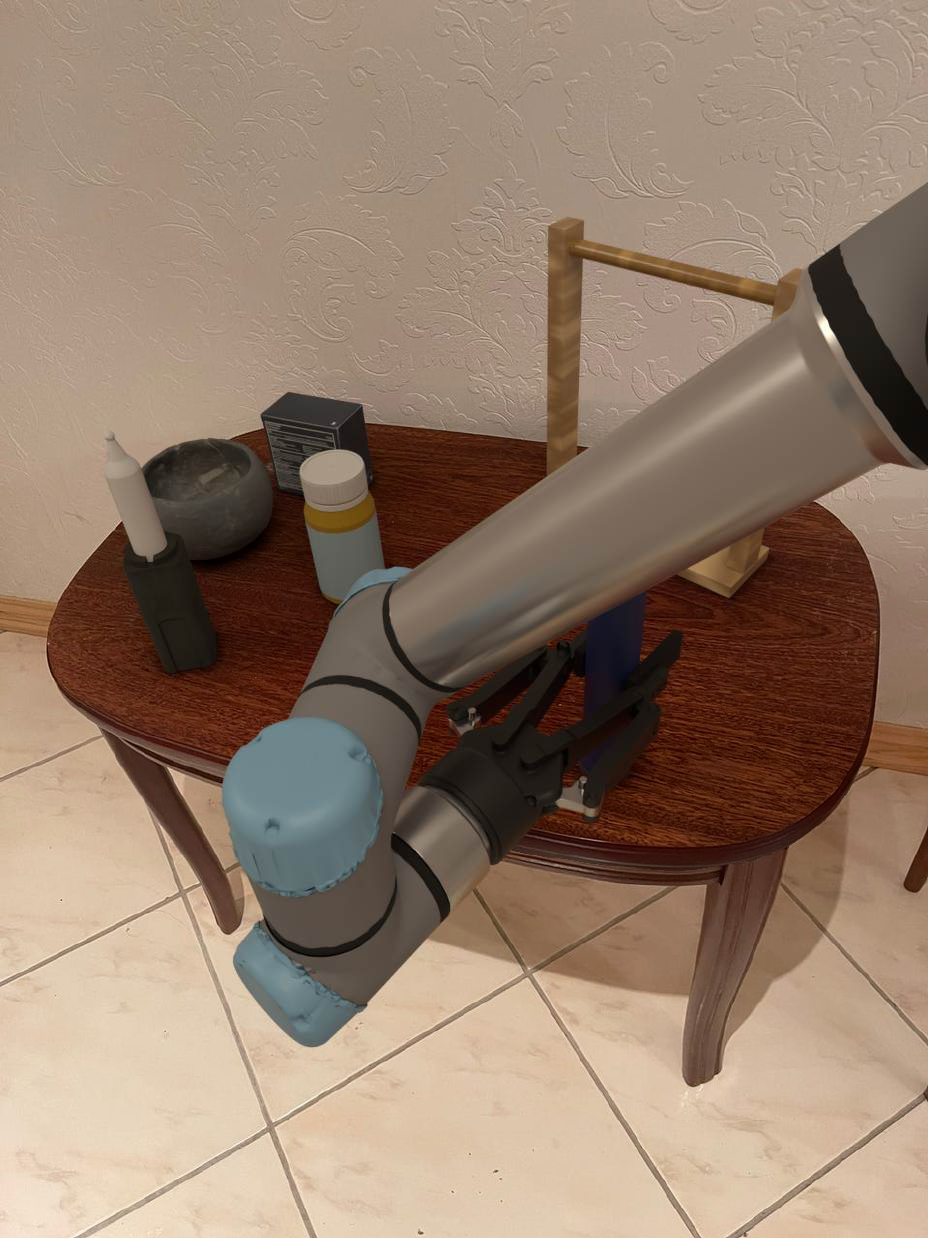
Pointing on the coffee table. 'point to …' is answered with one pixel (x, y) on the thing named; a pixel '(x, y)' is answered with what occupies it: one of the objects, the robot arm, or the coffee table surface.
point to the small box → (312, 434)
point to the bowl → (210, 495)
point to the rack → (564, 362)
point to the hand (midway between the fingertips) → (650, 631)
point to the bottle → (340, 521)
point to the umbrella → (611, 662)
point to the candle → (159, 570)
